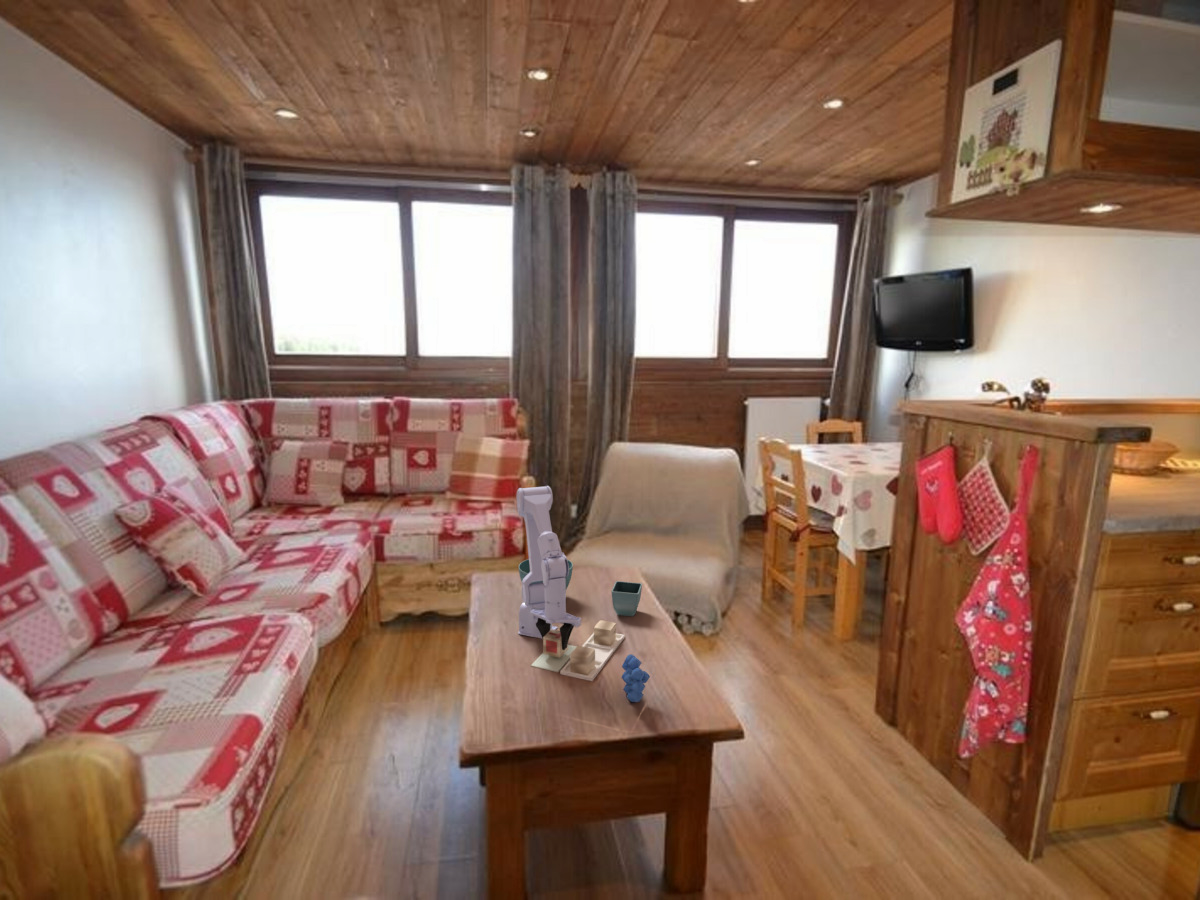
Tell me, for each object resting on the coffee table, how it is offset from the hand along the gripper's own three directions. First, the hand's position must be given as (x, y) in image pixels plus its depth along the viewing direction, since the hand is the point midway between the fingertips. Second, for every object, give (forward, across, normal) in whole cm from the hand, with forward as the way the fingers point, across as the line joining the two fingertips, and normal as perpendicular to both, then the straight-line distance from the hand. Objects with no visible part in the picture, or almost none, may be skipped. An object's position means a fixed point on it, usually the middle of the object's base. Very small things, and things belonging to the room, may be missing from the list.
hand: (555, 646), depth 164 cm
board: (+3, 0, 0) cm, 3 cm away
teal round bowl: (+4, -20, +34) cm, 40 cm away
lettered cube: (+2, 0, 0) cm, 2 cm away
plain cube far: (+3, +10, +13) cm, 17 cm away
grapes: (+4, +27, -11) cm, 29 cm away
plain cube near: (+3, +10, -3) cm, 10 cm away
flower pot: (+4, +9, +34) cm, 35 cm away
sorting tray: (+3, +10, +5) cm, 11 cm away
